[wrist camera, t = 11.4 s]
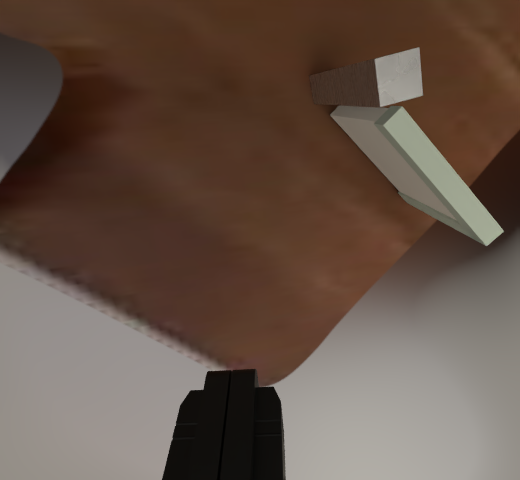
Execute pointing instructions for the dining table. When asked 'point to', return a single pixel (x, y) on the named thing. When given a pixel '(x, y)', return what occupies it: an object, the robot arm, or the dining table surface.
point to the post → (371, 81)
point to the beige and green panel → (416, 168)
